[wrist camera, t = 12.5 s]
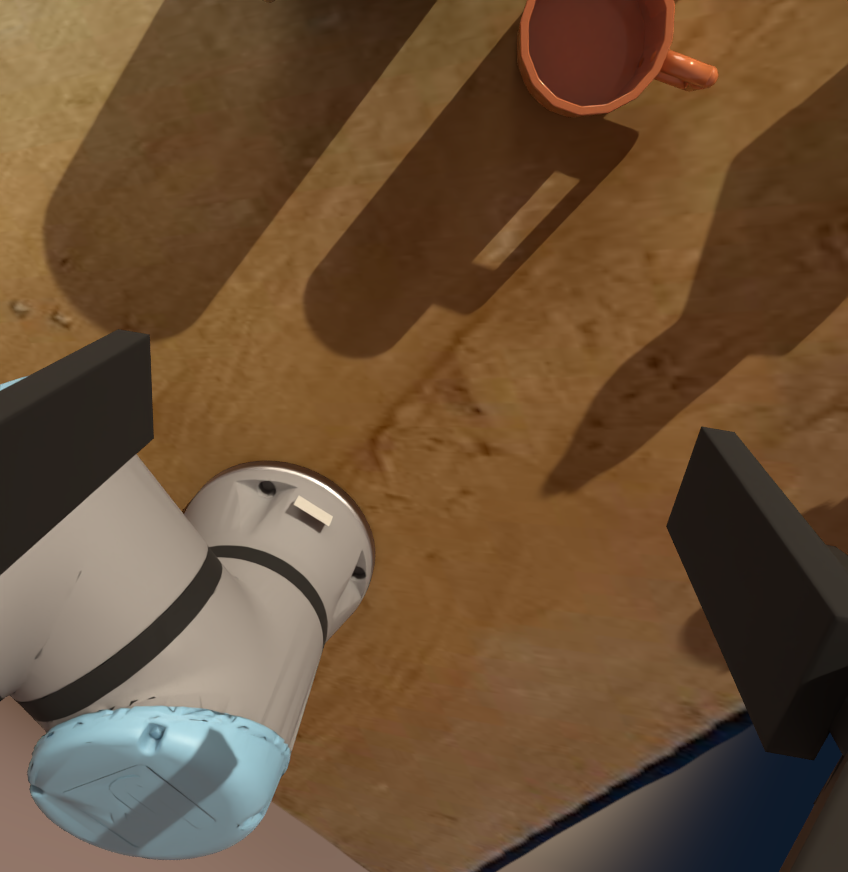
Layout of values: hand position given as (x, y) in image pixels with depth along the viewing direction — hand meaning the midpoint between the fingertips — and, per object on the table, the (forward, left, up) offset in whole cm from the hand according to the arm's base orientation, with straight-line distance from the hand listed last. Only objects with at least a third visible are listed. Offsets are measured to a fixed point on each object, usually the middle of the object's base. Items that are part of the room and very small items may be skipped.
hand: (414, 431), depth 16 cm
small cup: (+13, +3, -29) cm, 32 cm away
